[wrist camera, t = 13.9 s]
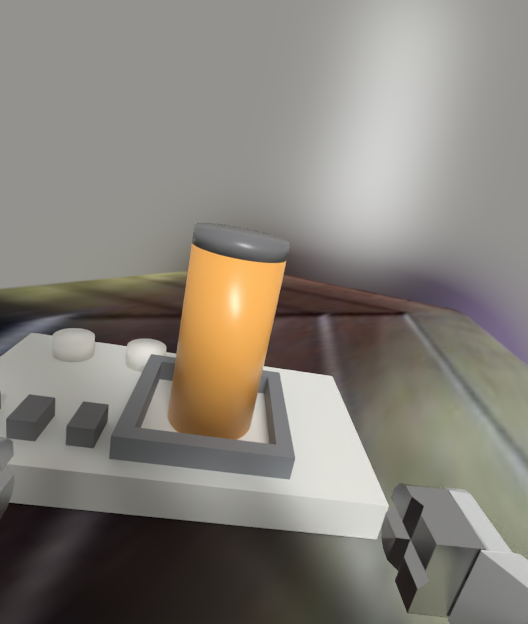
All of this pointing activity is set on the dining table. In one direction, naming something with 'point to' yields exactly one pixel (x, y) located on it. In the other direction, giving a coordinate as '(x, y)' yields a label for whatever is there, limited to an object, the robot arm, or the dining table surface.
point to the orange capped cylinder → (225, 329)
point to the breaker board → (179, 443)
